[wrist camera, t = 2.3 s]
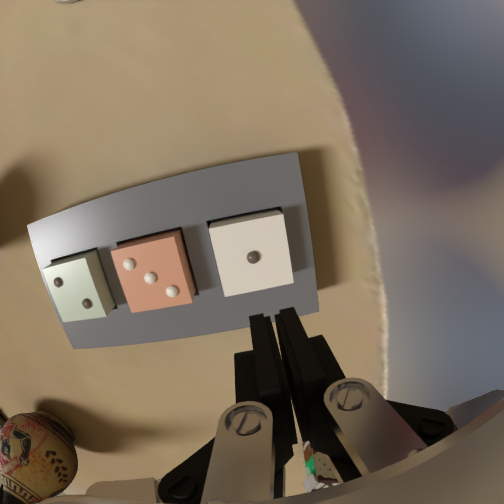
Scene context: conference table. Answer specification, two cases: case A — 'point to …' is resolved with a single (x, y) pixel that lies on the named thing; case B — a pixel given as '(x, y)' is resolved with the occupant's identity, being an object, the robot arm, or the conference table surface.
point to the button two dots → (80, 286)
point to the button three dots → (155, 271)
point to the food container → (317, 470)
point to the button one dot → (251, 251)
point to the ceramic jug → (35, 458)
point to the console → (198, 245)
